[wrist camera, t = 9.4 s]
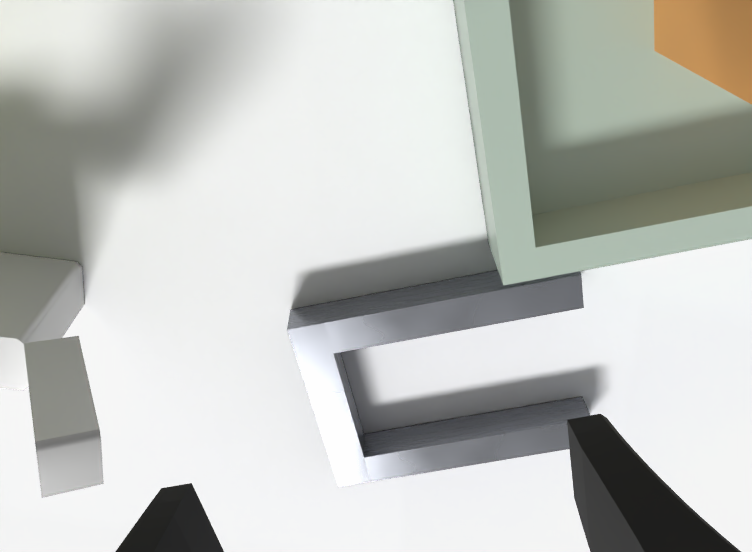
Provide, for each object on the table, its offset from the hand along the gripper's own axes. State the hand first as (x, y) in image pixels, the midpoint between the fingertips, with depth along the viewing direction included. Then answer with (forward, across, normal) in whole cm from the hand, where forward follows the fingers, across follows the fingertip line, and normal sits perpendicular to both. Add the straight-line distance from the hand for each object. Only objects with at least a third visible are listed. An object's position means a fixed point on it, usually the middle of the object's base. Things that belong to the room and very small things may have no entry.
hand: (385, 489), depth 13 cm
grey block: (+10, +10, -1) cm, 14 cm away
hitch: (+10, -2, +5) cm, 11 cm away
